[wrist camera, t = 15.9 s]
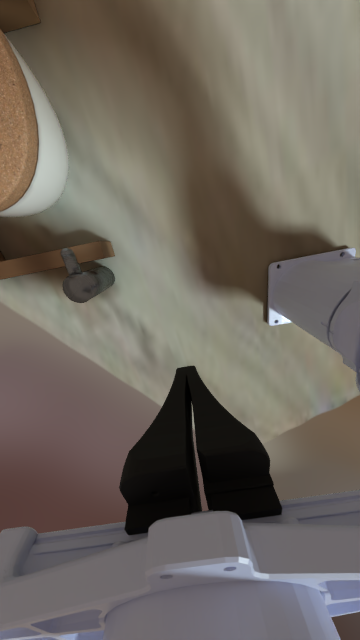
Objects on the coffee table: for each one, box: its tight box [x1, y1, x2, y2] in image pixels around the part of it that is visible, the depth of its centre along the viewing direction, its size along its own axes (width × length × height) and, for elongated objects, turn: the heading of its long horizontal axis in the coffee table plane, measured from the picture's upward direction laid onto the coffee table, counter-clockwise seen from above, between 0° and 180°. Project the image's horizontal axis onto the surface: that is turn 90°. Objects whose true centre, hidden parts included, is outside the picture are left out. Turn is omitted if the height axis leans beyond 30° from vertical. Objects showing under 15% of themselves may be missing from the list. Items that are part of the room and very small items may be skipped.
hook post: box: [60, 248, 115, 303], centre depth 17 cm, size 2×4×6 cm, turn 11°
